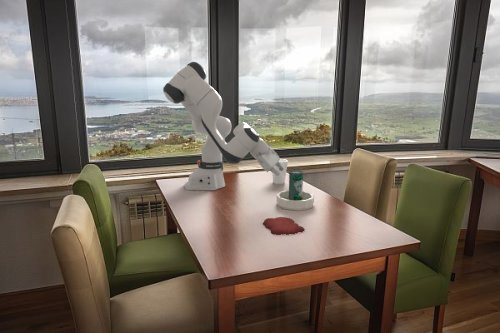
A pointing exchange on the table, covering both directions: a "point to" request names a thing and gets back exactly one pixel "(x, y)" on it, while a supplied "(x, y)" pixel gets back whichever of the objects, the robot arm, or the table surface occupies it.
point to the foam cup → (280, 172)
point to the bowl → (295, 205)
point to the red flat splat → (282, 226)
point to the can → (295, 185)
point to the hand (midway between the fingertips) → (280, 172)
